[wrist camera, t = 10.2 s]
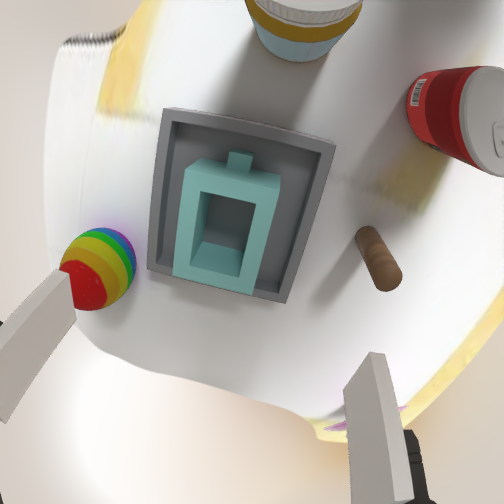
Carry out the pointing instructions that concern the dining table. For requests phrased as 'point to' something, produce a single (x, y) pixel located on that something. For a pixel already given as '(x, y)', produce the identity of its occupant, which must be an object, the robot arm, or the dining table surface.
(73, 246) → the decorative egg
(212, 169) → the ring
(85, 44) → the dining table surface
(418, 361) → the dining table surface
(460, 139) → the canned food
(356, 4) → the bottle
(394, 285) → the post
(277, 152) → the tray
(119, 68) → the dining table surface
